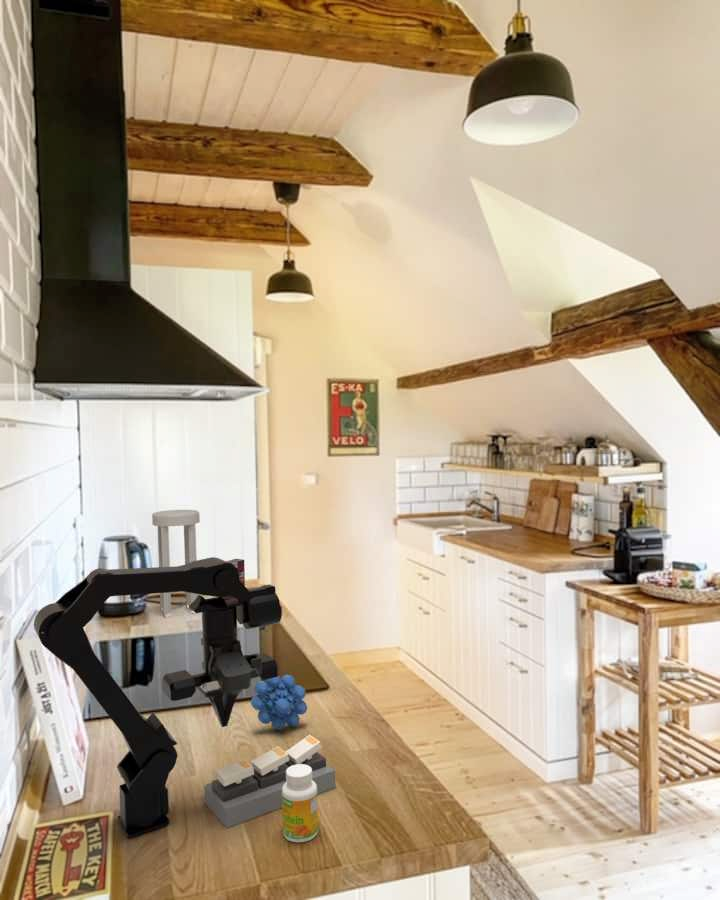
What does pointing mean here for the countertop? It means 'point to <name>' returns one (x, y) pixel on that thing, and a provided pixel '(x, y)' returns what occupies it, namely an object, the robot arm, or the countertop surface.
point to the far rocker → (304, 749)
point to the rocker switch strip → (261, 792)
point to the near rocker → (234, 772)
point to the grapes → (279, 701)
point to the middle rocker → (270, 761)
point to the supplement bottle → (299, 804)
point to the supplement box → (240, 567)
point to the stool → (163, 521)
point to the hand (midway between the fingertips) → (223, 725)
